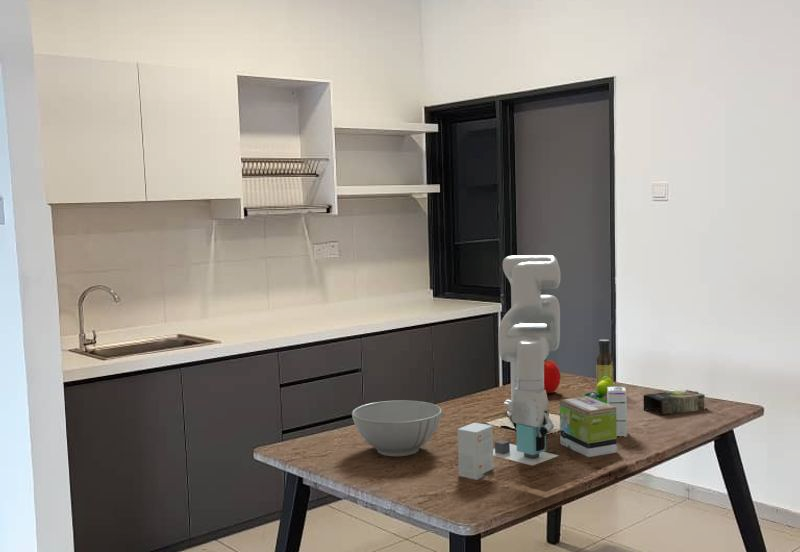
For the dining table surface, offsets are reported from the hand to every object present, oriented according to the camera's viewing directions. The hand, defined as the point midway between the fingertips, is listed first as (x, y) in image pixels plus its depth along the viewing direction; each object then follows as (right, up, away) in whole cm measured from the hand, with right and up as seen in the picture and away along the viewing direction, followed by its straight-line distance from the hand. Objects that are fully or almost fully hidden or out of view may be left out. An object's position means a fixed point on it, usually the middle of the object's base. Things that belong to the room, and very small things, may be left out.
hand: (531, 447), depth 237 cm
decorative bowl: (-38, -4, +14) cm, 40 cm away
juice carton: (+58, +2, +53) cm, 78 cm away
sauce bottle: (+41, +4, +82) cm, 92 cm away
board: (-3, -4, +3) cm, 6 cm away
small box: (-16, -5, -10) cm, 20 cm away
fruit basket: (+34, +2, +56) cm, 66 cm away
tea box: (+18, -3, +7) cm, 19 cm away
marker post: (0, -3, 0) cm, 3 cm away
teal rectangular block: (0, -1, 0) cm, 1 cm away
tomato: (+18, +3, +83) cm, 85 cm away
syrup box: (+31, -1, +25) cm, 39 cm away
